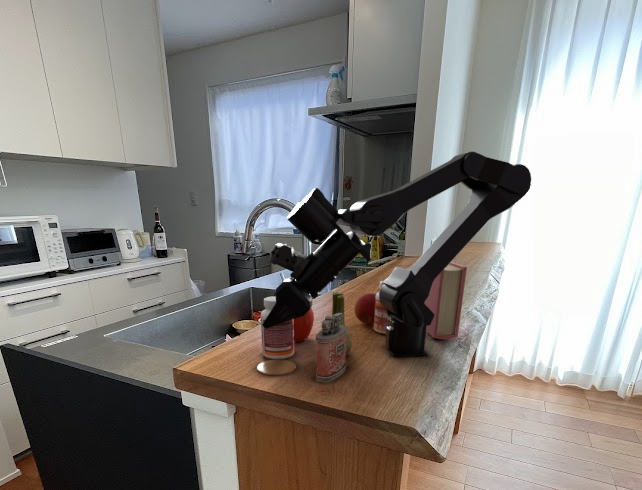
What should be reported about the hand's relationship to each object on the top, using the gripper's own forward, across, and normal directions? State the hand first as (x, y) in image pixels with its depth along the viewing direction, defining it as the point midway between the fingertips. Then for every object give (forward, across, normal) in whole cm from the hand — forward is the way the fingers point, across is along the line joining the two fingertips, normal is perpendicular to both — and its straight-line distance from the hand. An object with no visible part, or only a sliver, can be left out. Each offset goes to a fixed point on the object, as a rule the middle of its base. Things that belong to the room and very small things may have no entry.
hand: (269, 320), depth 72 cm
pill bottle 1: (+4, 0, +6) cm, 7 cm away
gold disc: (+3, +7, +7) cm, 10 cm away
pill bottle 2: (-12, -18, +21) cm, 30 cm away
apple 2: (-11, -21, +18) cm, 30 cm away
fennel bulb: (-4, -1, +14) cm, 15 cm away
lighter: (-4, +8, +14) cm, 16 cm away
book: (-23, -18, +21) cm, 36 cm away
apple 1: (+3, -10, +7) cm, 13 cm away
